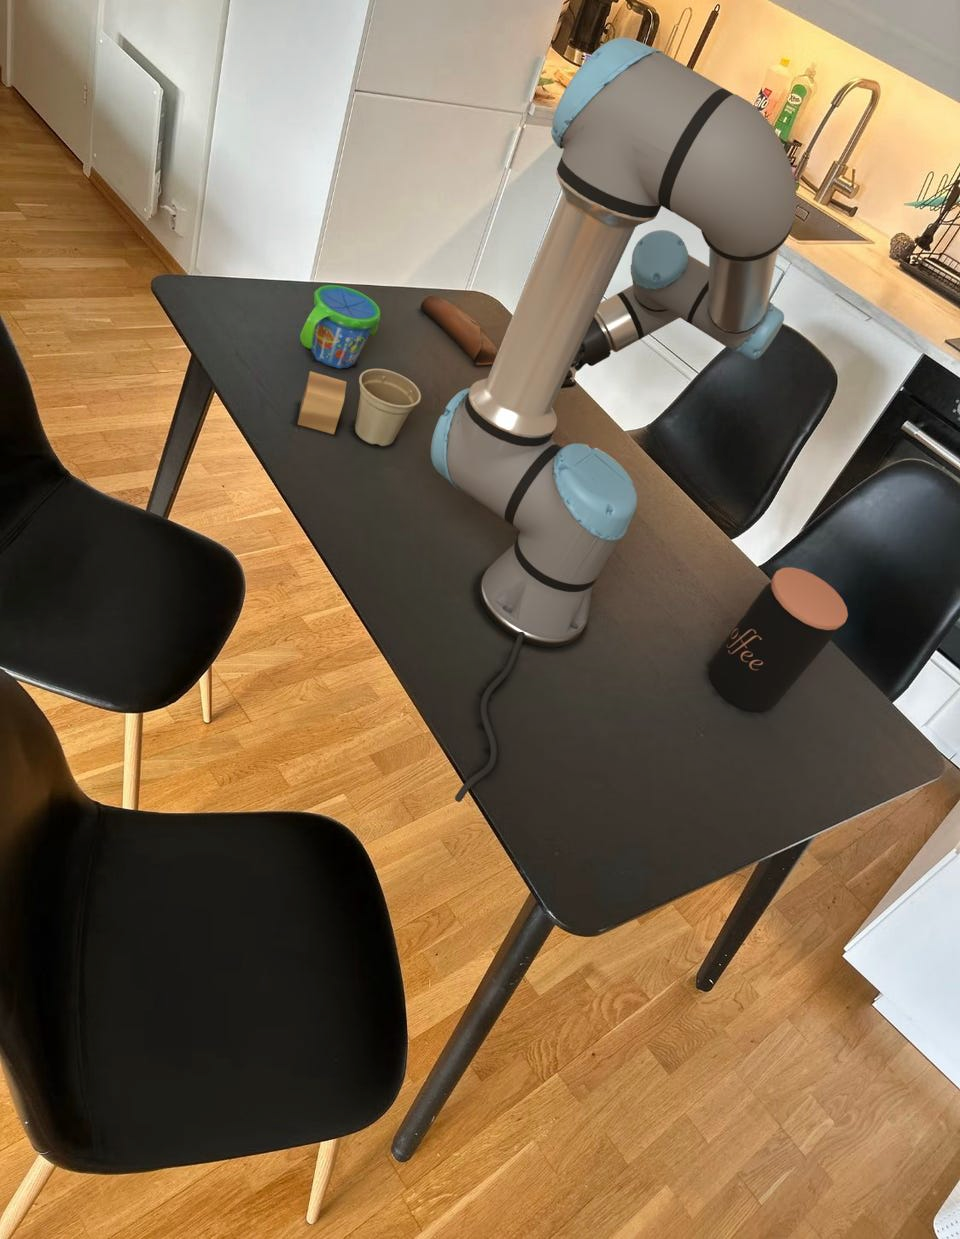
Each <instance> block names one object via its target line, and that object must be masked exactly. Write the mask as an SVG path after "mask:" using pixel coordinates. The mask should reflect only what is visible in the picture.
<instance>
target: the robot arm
mask: <svg viewBox="0 0 960 1239" xmlns="http://www.w3.org/2000/svg"><path fill="white" fill-rule="evenodd" d="M551 125H552V128H551V130H550V132H551V138H552V140H553V142H554V143H555V144H556V146H557V147H558V148H559V149H563V150H562V154H561V156H560V159H559V162H558V164H557V167H556V169H555V175H556V178H557V180H558V183H559V185H560V188H561V195H560V198H559V200H558V203H557V205H556V208H555V210H554V213H553V215H552V218H551V220H550V223H549V225H548V228H547V229H546V233H545V235H544V237H543V240H542V242H541V245H540V248H539V250H538V253H537V255H536V257H535V260H534V263H533V265H532V268H531V270H530V272H529V274H528V277H527V280H526V282H525V285H524V287H523V289H522V292H521V294H520V297H519V299H518V302H517V305H516V307H515V309H514V311H513V314H512V317H511V318H510V322H509V324H508V326H507V329H506V331H505V334H504V337H503V339H502V341H501V344H500V346H499V349H498V354H497V356H496V358H495V361H494V363H493V365H491V369H490V371H489V373H488V376H487V377H486V378H483V379H480V380H476V381H475V382H474V383H473V384H472V385H471V386H470V387H467V388H465V389H462V390H460V391H459V392H457V393H456V394H455V395H454V396H453V397H452V398H451V400H450V401H449V402H448V403H447V404H446V406H445V408H444V412H443V414H441V415H440V416H439V418H438V421H437V423H436V424H435V428H434V431H433V434H432V438H431V443H430V459H431V463H432V465H433V467H434V469H435V470H436V472H437V473H438V474H439V475H441V476H442V477H444V478H445V479H446V480H447V481H448V482H449V483H450V484H451V485H452V486H453V487H454V488H455V489H457V490H459V491H461V492H464V493H465V494H467V495H468V496H469V497H471V498H472V499H474V500H475V501H476V502H477V503H479V504H480V505H482V506H483V507H485V508H487V509H488V510H489V511H491V512H492V513H494V514H495V515H496V516H498V517H499V518H501V519H502V520H503V521H505V522H506V523H508V524H510V526H513V527H514V528H515V529H516V530H518V531H519V532H518V535H517V538H516V540H515V541H514V543H513V545H511V546H510V547H509V548H508V549H507V550H505V552H503V553H502V554H501V555H500V556H499V557H498V558H497V559H496V560H495V561H494V562H492V563H491V564H490V565H489V567H487V569H486V570H485V572H484V574H483V575H482V577H481V580H480V582H479V584H478V598H479V602H480V604H481V607H482V609H483V611H484V612H485V614H486V615H487V616H488V618H489V619H490V620H491V621H492V622H493V623H494V624H495V625H496V626H497V627H498V628H499V629H500V630H502V631H503V632H504V633H506V634H508V635H509V636H511V637H513V638H514V639H516V640H515V642H514V645H513V647H512V650H511V652H510V656H509V658H508V660H507V663H506V665H505V667H504V668H503V670H502V671H501V672H500V673H499V675H497V677H496V678H495V679H494V680H492V681H491V683H490V684H488V686H487V687H486V689H485V690H484V692H483V694H482V696H481V699H480V705H479V707H480V708H479V712H480V713H479V714H480V719H481V722H482V726H483V729H484V732H485V734H486V737H487V740H488V745H489V759H488V761H487V763H486V764H485V766H484V767H483V768H482V769H480V770H479V771H478V772H476V773H474V774H473V775H472V776H470V777H469V778H468V779H467V780H466V781H465V783H463V785H462V786H461V787H460V788H459V790H458V792H457V793H456V795H455V797H454V800H455V802H457V803H460V802H462V801H463V799H464V798H465V797H466V795H467V793H468V792H469V790H470V789H471V788H472V787H473V786H474V785H475V784H476V783H477V782H479V781H480V780H481V779H483V778H484V777H486V776H487V775H489V774H490V773H491V771H493V769H494V767H495V765H496V763H497V759H498V745H497V739H496V736H495V733H494V730H493V728H492V725H491V722H490V719H489V715H488V703H489V699H490V697H491V695H492V694H493V692H494V691H495V689H496V688H497V687H498V686H499V685H500V684H501V683H502V682H503V681H504V680H505V679H506V678H507V677H508V676H509V674H510V672H511V671H512V669H513V667H514V665H515V663H516V660H517V659H518V658H517V657H518V655H519V652H520V649H521V647H522V644H523V643H526V644H528V645H532V646H535V647H539V648H548V649H551V648H554V649H555V648H561V647H565V646H568V645H570V644H572V643H574V642H575V641H576V640H577V639H578V638H579V637H580V635H581V634H582V632H583V630H584V628H585V627H586V625H587V622H588V619H589V615H590V614H589V613H590V606H591V601H592V594H593V593H592V592H593V587H594V586H595V583H596V581H597V579H598V578H599V576H600V574H601V573H602V570H603V569H604V567H605V566H606V564H607V562H608V560H609V559H610V557H611V555H613V554H612V553H613V552H614V550H615V549H616V547H617V545H618V543H619V542H620V541H621V539H622V538H623V537H624V536H625V534H626V533H627V531H628V528H629V525H630V522H631V520H632V518H633V516H634V514H635V512H636V511H637V507H638V493H637V490H636V488H635V483H634V481H633V480H632V477H631V476H630V475H629V473H628V472H627V471H626V469H625V468H624V467H623V466H622V465H621V464H620V463H619V462H618V461H617V460H616V459H614V458H613V457H612V456H611V455H609V454H608V453H606V452H605V451H603V450H601V449H599V448H597V447H592V448H591V447H590V446H589V445H588V444H585V443H581V442H580V443H578V442H577V443H576V442H575V443H570V444H567V445H565V446H564V447H563V446H561V445H559V444H558V443H556V442H555V441H554V440H553V439H552V437H553V435H554V432H555V431H556V428H557V425H558V418H557V415H556V412H555V410H554V408H553V406H554V404H555V401H556V399H557V397H558V395H559V393H560V390H561V389H567V388H574V387H576V385H577V381H576V379H575V378H576V374H577V372H579V371H580V370H582V368H583V367H584V366H586V365H588V366H590V367H593V366H595V365H597V364H600V363H601V362H603V361H604V360H606V359H608V358H610V357H611V356H610V355H611V354H612V353H611V351H612V352H614V353H618V352H620V351H622V350H624V349H625V348H627V347H629V346H631V345H632V344H634V343H636V342H638V341H640V340H641V339H643V338H645V337H647V336H649V335H651V334H652V333H654V332H656V331H658V330H660V329H661V328H663V327H665V326H667V325H669V324H671V323H673V322H675V321H676V320H678V319H681V320H683V321H685V322H686V323H688V324H690V325H691V326H693V327H694V328H696V329H698V330H699V331H701V332H702V333H704V334H705V335H707V336H708V337H710V338H712V339H713V340H714V341H716V342H718V343H720V344H722V345H723V346H724V347H726V348H728V349H729V350H730V351H731V352H732V353H736V354H738V355H740V356H741V357H744V358H746V359H747V360H750V361H754V360H757V359H759V358H760V357H762V355H763V354H764V353H765V352H766V351H767V349H768V348H769V347H770V345H771V344H772V342H773V341H774V339H775V338H776V336H777V334H778V333H779V331H780V330H781V327H782V326H783V324H784V321H785V314H784V312H783V310H781V309H780V308H778V307H777V306H775V305H774V303H773V302H771V301H769V297H770V292H771V288H772V287H771V286H772V282H773V277H774V271H775V266H776V262H777V257H778V252H779V249H780V248H781V247H782V246H783V245H784V244H785V242H786V241H787V239H788V238H789V236H790V234H791V231H792V229H793V226H794V223H795V217H796V212H797V207H798V195H797V186H796V179H795V176H794V172H793V167H792V165H791V162H790V159H789V156H788V154H787V152H786V149H785V147H784V145H783V143H782V140H781V138H780V137H779V135H778V134H777V132H776V130H775V128H774V127H773V125H772V124H771V123H770V122H769V120H768V119H767V118H766V117H765V116H764V114H763V113H762V112H761V110H759V109H758V108H757V107H756V106H754V104H752V102H750V101H749V100H747V99H745V98H743V97H742V96H740V95H738V94H737V93H733V92H732V91H729V90H728V89H727V88H725V87H722V86H721V85H719V84H717V83H716V82H714V81H712V80H711V79H709V78H707V77H705V76H703V75H702V74H700V73H698V72H697V71H695V70H693V69H692V68H690V67H688V66H686V64H685V65H684V64H683V63H681V62H679V61H678V60H676V59H674V58H673V57H671V56H669V55H667V54H666V53H664V51H663V50H661V49H657V48H654V47H652V46H650V45H647V44H645V43H643V42H640V41H638V40H636V39H634V38H630V37H626V36H625V37H624V36H621V37H616V38H613V39H610V40H609V41H607V42H605V43H603V44H602V45H600V46H599V47H598V48H597V49H596V50H594V52H592V54H591V55H590V56H589V57H588V58H587V59H585V61H584V62H583V63H582V64H581V65H580V67H579V68H578V69H577V71H576V72H575V74H574V75H573V77H572V78H571V80H570V81H569V82H568V84H567V86H566V88H565V90H564V91H563V93H562V95H561V97H560V99H559V101H558V103H557V106H556V109H555V111H554V113H553V117H552V122H551ZM662 207H663V208H664V209H666V210H667V211H669V212H670V213H674V214H675V215H677V216H679V217H680V218H682V219H683V220H685V221H687V222H689V223H690V224H692V225H694V226H695V227H696V228H698V229H699V230H700V232H701V235H702V238H703V240H704V242H705V244H706V245H707V247H708V249H709V251H708V252H709V254H708V256H709V257H708V258H709V260H708V265H707V264H705V263H704V262H702V261H701V260H700V259H697V258H695V257H694V256H693V255H690V254H689V251H688V249H687V245H686V243H685V241H683V239H682V237H681V236H679V234H677V233H675V232H673V231H670V230H667V229H657V230H653V231H650V232H648V233H647V234H644V235H643V236H642V237H641V238H640V239H639V240H638V242H636V244H635V246H634V248H633V251H632V254H631V264H630V276H631V279H632V285H630V286H629V287H626V288H624V289H623V290H622V291H620V292H618V293H615V294H614V295H612V296H610V297H609V298H607V299H605V300H603V298H604V296H605V294H606V292H607V290H608V287H609V285H610V284H611V281H612V279H613V277H614V275H615V273H616V270H617V268H618V266H619V264H620V261H621V260H622V258H623V255H624V253H625V251H626V249H627V247H628V244H629V242H630V241H631V238H632V236H633V234H634V232H635V229H636V228H637V227H638V226H640V225H642V224H643V225H644V224H646V223H648V222H651V221H653V220H655V219H656V218H657V216H658V215H659V212H660V210H661V208H662ZM602 300H603V301H602ZM468 789H469V790H468Z"/></svg>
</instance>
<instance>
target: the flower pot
mask: <svg viewBox="0 0 960 1239" xmlns="http://www.w3.org/2000/svg"><path fill="white" fill-rule="evenodd" d="M358 382H359V383H358V384H359V392H360V394H359V400H358V407H357V413H356V417H355V418H356V419H355V424H354V429H355V433H356V435H357V436H358V437H359V438H360V439H361V440H362V441H364V442H366V443H368V444H370V445H378V446H380V447H386V446H389V445H392V444H393V443H394V441H395V439H396V438H397V435H398V434H399V432H400V430H401V429H402V426H403V425H404V423H405V421H406V419H407V418H408V416H409V414H410V412H412V411H413V410H414V408H415V407H416V406H417V405H418V404H419V403H420V402H421V400H422V394H421V390H420V389H419V387H418V386H417V385H416V384H415V383H414V382H413V381H411V380H410V379H409V378H407V377H406V376H404V375H402V374H400V373H398V372H395V371H392V370H389V369H385V368H370V369H366V370H364V371H362V372H361V373H360V375H359V378H358Z"/></svg>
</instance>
